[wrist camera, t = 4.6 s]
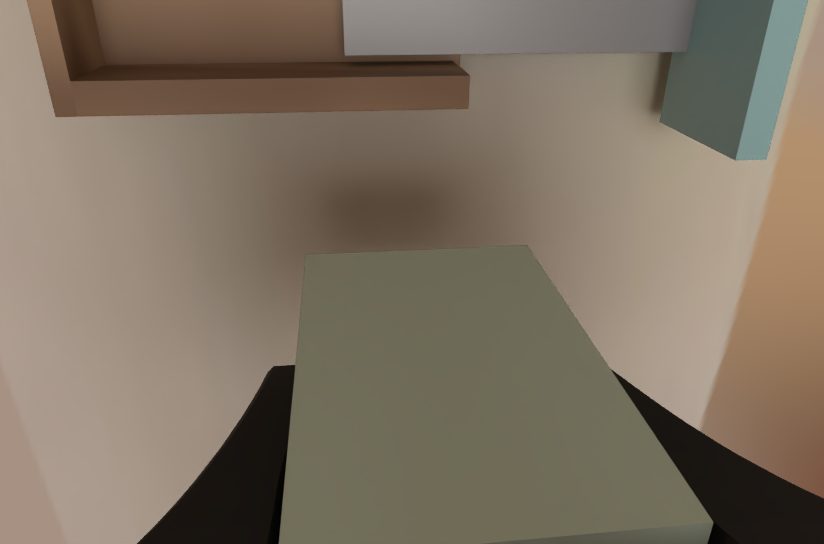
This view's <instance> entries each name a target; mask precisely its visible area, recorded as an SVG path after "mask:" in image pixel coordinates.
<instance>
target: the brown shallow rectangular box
mask: <svg viewBox="0 0 824 544" xmlns="http://www.w3.org/2000/svg"><path fill="white" fill-rule="evenodd" d="M27 3H28V7H29V11H30V15H31V19H32V23H33V27H34V31H35V35H36V39H37V43H38V47H39V51H40V56H41V60H42V64H43V68H44V72H45V76H46V80H47V84H48V88H49V92H50V96H51V100H52V104H53V108H54V112H55V116H56V117H76V116H127V115H178V114H229V113H280V112H331V111H382V110H433V109H468V107H469V84H470V75H469V74H467V73H466V72H465V71H464V70H463V69H462V68H461V67H459V66H460V54H438V55H345V53H344V32H343V8H342V0H27Z"/></svg>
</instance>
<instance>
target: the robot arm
mask: <svg viewBox="0 0 824 544" xmlns="http://www.w3.org/2000/svg"><path fill="white" fill-rule="evenodd" d="M611 371H612V372H613V374H614V375H615V377H616V378H617V380H618V381H619V383H620V384H621V386H622V387H623V389H624V390H625V391H626V393H627V394H628V396H629V397H630V399H631V400H632V402H633V403H634V405H635V406H636V408H637V409H638V411H639V412H640V414H641V415H642V417H643V418H644V420H645V421H646V423H647V424H648V426H649V427H650V429H651V430H652V432H653V433H654V435H655V436H656V438H657V439H658V441H659V442H660V444H661V445H662V446H663V448H664V449H665V451H666V452H667V454H668V455H669V457H670V458H671V460H672V461H673V463H674V464H675V466H676V467H677V469H678V470H679V472H680V473H681V475H682V476H683V478H684V479H685V481H686V482H687V484H688V485H689V487H690V488H691V490H692V491H693V493H694V494H695V496H696V497H697V498H698V500H699V501H700V503H701V504H702V506H703V507H704V509H705V510H706V512H707V513H708V515H709V516H710V518H711V519H712V521H713V522H714V523H713V526H712V530H711V533H710V536H709V540H708V543H707V544H824V498H821V497H819V496H817V495H815V494H813V493H810V492H808V491H806V490H804V489H802V488H800V487H798V486H796V485H794V484H792V483H790V482H788V481H786V480H784V479H782V478H780V477H777V476H776V475H774V474H772V473H770V472H769V471H767V470H765V469H763V468H761V467H759V466H758V465H756V464H754V463H752V462H750V461H748V460H747V459H745V458H743V457H741V456H739V455H737V454H736V453H734V452H732V451H731V450H729V449H727V448H726V447H724V446H722V445H721V444H719V443H717V442H716V441H714V440H713V439H711V438H709V437H708V436H706V435H705V434H703V433H701V432H700V431H698V430H697V429H695V428H694V427H692V426H690V425H689V424H687V423H686V422H684V421H683V420H681V419H680V418H678V417H677V416H675V415H674V414H672V413H671V412H669V411H668V410H667V409H665V408H664V407H662V406H661V405H659V404H658V403H657V402H655V401H654V400H652V399H651V398H650V397H648V396H647V395H645V394H644V393H643V392H641V391H640V390H638V389H637V388H636V387H634V386H633V385H632V384H630V383H629V382H628V381H626V380H625V379H623V378H622V377H621V376H619V375H618V374H617V373H615V372H614V371H613V370H611ZM294 375H295V365H287V366H274V367H273V368H272V369H271V370H270V371H269V372H268V373H267V375H266V377H265V379H264V381H263V383H262V384H261V386H260V388H259V390H258V392H257V393H256V395H255V397H254V398H253V400H252V402H251V403H250V405H249V406H248V408H247V410H246V411H245V413H244V414H243V416H242V418H241V419H240V420H239V422H238V423H237V425H236V426H235V428H234V429H233V431H232V432H231V434H230V435H229V437H228V438H227V440H226V441H225V442H224V444H223V445H222V447H221V448H220V449H219V451H218V452H217V453H216V455H215V456H214V457H213V458H212V460H211V461H210V462H209V464H208V465H207V466H206V467H205V469H204V470H203V471H202V473H201V474H200V475H199V476H198V478H197V479H196V480H195V482H194V483H193V484H192V485H191V486H190V487H189V489H188V490H187V491H186V492H185V493H184V495H183V496H182V497H181V498H180V499H179V500H178V501H177V503H176V504H175V505H174V506H173V507H172V508H171V509H170V510H169V511H168V512H167V513H166V515H165V516H164V517H163V518H162V519H161V520H160V521H159V522H158V523H157V524H156V525H155V526H154V527H153V528H152V529H151V530H150V531H149V532H148V533H147V534H146V535H145V536H144V537H143V538H142V539H141V540H140V541H139V542H138V543H137V544H279V536H280V525H281V514H282V504H283V493H284V482H285V472H286V461H287V450H288V440H289V429H290V418H291V407H292V397H293V386H294Z"/></svg>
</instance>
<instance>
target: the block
mask: <svg viewBox="0 0 824 544" xmlns="http://www.w3.org/2000/svg"><path fill="white" fill-rule="evenodd" d="M713 523H714V522H713V521H712V519H711V518H710V516H709V515H708V513H707V512H706V510H705V509H704V507H703V506H702V504H701V503H700V501H699V500H698V498H697V497H696V496H695V494H694V493H693V491H692V490H691V488H690V487H689V485H688V484H687V482H686V481H685V479H684V478H683V476H682V475H681V473H680V472H679V470H678V469H677V467H676V466H675V464H674V463H673V461H672V460H671V458H670V457H669V455H668V454H667V452H666V451H665V449H664V448H663V446H662V445H661V444H660V442H659V441H658V439H657V438H656V436H655V435H654V433H653V432H652V430H651V429H650V427H649V426H648V424H647V423H646V421H645V420H644V418H643V417H642V415H641V414H640V412H639V411H638V409H637V408H636V406H635V405H634V403H633V402H632V400H631V399H630V397H629V396H628V394H627V393H626V391H625V390H624V389H623V387H622V386H621V384H620V383H619V381H618V380H617V378H616V377H615V375H614V374H613V372H612V371H611V369H610V368H609V366H608V365H607V363H606V362H605V360H604V359H603V357H602V356H601V354H600V353H599V351H598V350H597V348H596V347H595V345H594V344H593V342H592V341H591V339H590V338H589V337H588V335H587V334H586V332H585V331H584V329H583V328H582V326H581V325H580V323H579V322H578V320H577V319H576V317H575V316H574V314H573V313H572V311H571V310H570V308H569V307H568V305H567V304H566V302H565V301H564V299H563V298H562V296H561V295H560V293H559V292H558V290H557V289H556V287H555V286H554V285H553V283H552V282H551V280H550V279H549V277H548V276H547V274H546V273H545V271H544V270H543V268H542V267H541V265H540V264H539V262H538V261H537V259H536V258H535V256H534V255H533V253H532V252H531V250H530V249H529V247H528V246H527V245H520V246H496V247H472V248H449V249H425V250H401V251H377V252H354V253H330V254H306V258H305V268H304V279H303V290H302V301H301V311H300V322H299V333H298V343H297V354H296V365H295V375H294V386H293V397H292V407H291V418H290V429H289V440H288V450H287V461H286V472H285V482H284V493H283V504H282V514H281V525H280V536H279V544H707V543H708V540H709V536H710V533H711V530H712V526H713Z"/></svg>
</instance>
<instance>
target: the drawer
mask: <svg viewBox="0 0 824 544" xmlns="http://www.w3.org/2000/svg"><path fill="white" fill-rule="evenodd" d="M807 3H808V0H342V8H343V32H344V53H345V55H438V54H532V53H625V52H672V57H671V62H670V68H669V73H668V79H667V84H666V90H665V95H664V101H663V107H662V112H661V118H660V122H661V123H663V124H665V125H667V126H669V127H671V128H673V129H675V130H676V131H678V132H680V133H682V134H684V135H686V136H688V137H690V138H692V139H694V140H696V141H698V142H700V143H702V144H704V145H706V146H708V147H710V148H712V149H714V150H716V151H718V152H720V153H722V154H724V155H726V156H728V157H730V158H732V159H734V160H766V159H767V155H768V151H769V148H770V144H771V140H772V136H773V132H774V129H775V125H776V121H777V117H778V113H779V109H780V106H781V102H782V98H783V94H784V90H785V87H786V83H787V79H788V75H789V71H790V68H791V64H792V60H793V56H794V52H795V49H796V45H797V41H798V37H799V33H800V29H801V26H802V22H803V18H804V14H805V10H806V7H807Z"/></svg>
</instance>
